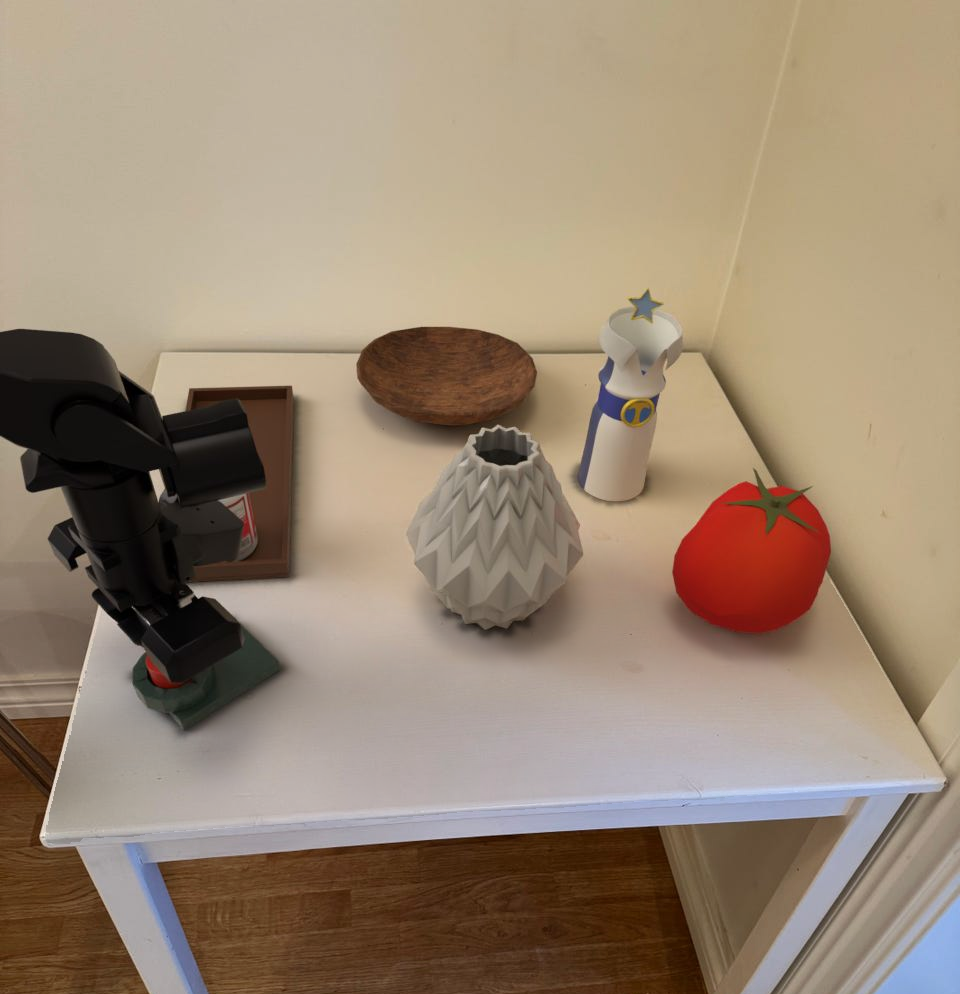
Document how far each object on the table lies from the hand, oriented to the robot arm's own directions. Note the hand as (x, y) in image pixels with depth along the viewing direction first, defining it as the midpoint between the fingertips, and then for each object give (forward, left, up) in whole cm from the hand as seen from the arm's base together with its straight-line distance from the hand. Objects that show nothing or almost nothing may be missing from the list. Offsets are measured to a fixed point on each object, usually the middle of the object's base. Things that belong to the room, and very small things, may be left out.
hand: (166, 656), depth 72 cm
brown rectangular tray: (+20, +21, -5) cm, 30 cm away
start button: (0, 0, -2) cm, 2 cm away
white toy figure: (+53, -6, -5) cm, 53 cm away
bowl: (+49, +18, -5) cm, 52 cm away
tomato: (+46, -27, -5) cm, 53 cm away
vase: (+29, -10, -5) cm, 31 cm away
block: (+3, 0, -5) cm, 6 cm away
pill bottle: (+13, +13, -4) cm, 19 cm away
